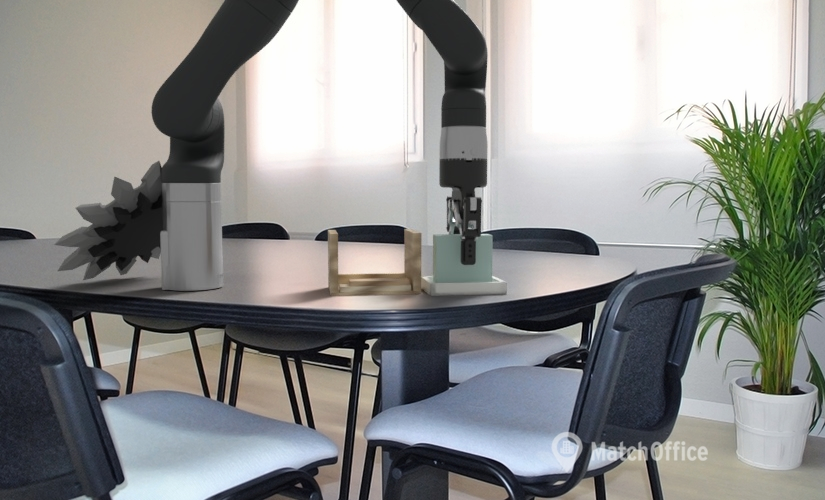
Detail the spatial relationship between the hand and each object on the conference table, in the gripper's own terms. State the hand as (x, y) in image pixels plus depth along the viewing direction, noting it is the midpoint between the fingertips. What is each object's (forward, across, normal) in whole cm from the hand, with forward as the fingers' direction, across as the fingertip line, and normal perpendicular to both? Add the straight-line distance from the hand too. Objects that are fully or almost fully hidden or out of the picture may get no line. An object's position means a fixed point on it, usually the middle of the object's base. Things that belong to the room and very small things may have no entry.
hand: (462, 261), depth 107 cm
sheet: (+4, 0, 0) cm, 4 cm away
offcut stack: (+5, 0, -14) cm, 15 cm away
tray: (+5, 0, 0) cm, 5 cm away
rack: (+5, -3, -14) cm, 15 cm away
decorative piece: (+3, -32, -53) cm, 62 cm away
